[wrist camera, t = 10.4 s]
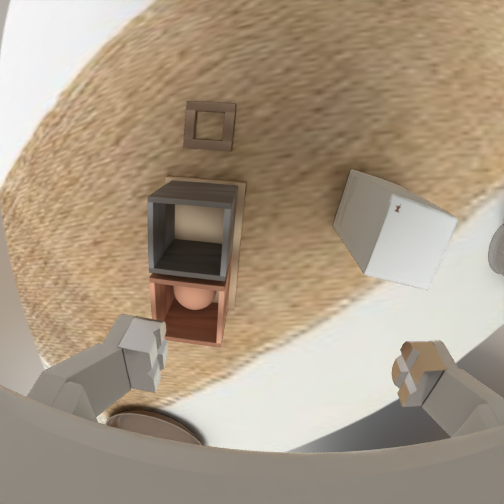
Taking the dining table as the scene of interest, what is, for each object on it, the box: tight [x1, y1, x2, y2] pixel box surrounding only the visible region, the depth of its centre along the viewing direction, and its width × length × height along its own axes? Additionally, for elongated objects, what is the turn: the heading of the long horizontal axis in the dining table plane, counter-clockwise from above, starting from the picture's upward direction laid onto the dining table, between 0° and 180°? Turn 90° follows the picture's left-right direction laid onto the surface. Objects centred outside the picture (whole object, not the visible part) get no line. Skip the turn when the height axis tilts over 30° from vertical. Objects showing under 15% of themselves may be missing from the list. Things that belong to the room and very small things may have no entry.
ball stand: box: [183, 101, 236, 151], centre depth 32 cm, size 5×5×1 cm
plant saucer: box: [106, 410, 202, 445], centre depth 53 cm, size 21×21×3 cm
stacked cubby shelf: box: [148, 176, 246, 347], centre depth 34 cm, size 16×9×9 cm, turn 174°
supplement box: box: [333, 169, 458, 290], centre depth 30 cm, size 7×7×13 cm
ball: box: [174, 286, 217, 310], centre depth 36 cm, size 5×5×5 cm
